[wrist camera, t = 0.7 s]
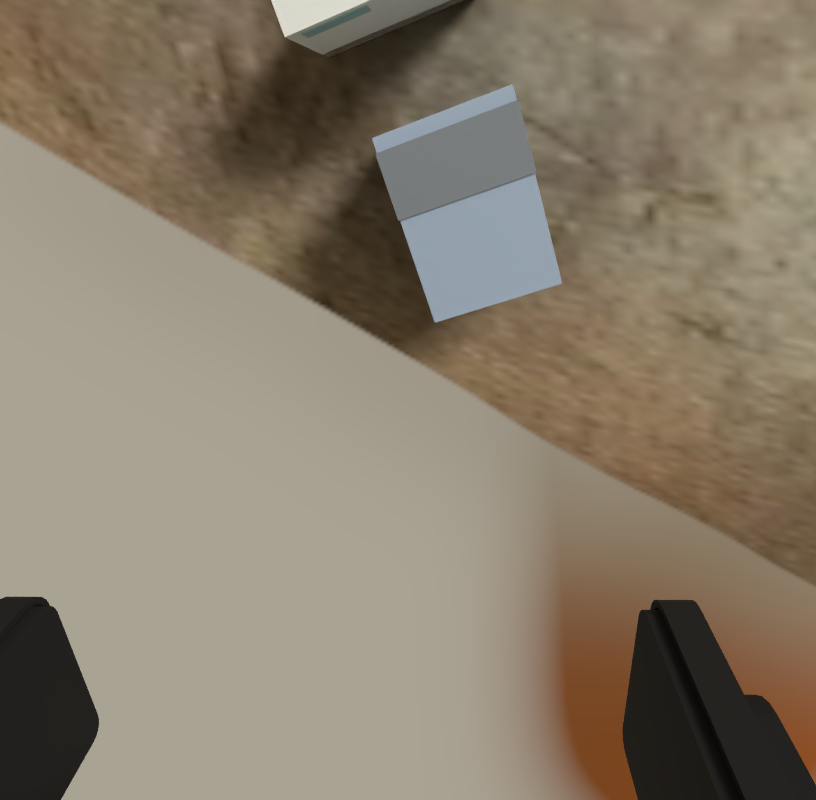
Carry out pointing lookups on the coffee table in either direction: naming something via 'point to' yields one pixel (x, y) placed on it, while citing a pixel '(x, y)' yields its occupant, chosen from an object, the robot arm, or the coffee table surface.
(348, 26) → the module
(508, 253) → the block
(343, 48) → the rail
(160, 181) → the coffee table surface
